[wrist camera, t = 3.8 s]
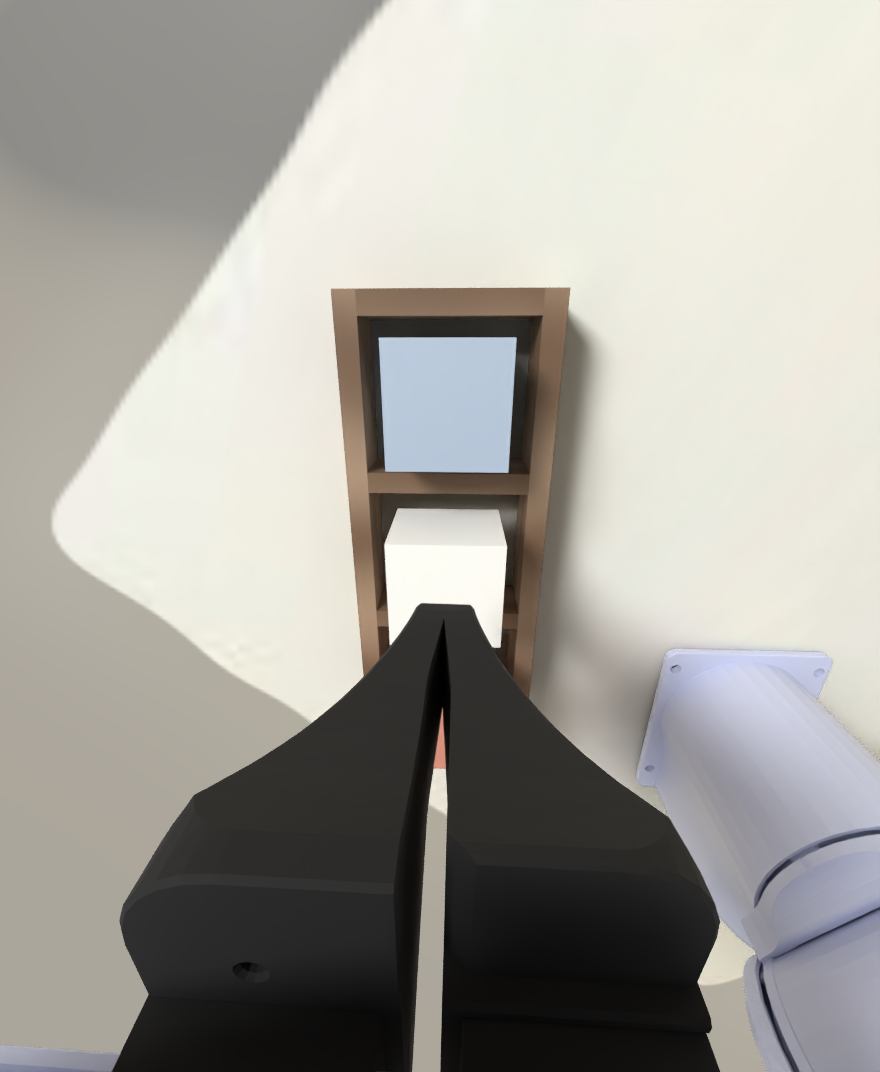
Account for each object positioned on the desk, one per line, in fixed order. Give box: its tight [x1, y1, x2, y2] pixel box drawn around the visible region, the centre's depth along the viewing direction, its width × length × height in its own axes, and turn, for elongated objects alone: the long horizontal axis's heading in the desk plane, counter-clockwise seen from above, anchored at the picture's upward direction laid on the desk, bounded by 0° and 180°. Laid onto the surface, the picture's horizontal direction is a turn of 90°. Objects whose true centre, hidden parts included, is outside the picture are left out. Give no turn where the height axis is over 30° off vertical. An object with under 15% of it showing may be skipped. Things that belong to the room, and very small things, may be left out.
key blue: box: [379, 337, 517, 473], centre depth 15 cm, size 4×4×4 cm
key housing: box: [331, 288, 570, 698], centre depth 19 cm, size 19×8×2 cm, turn 0°
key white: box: [384, 508, 507, 648], centre depth 17 cm, size 4×4×4 cm
